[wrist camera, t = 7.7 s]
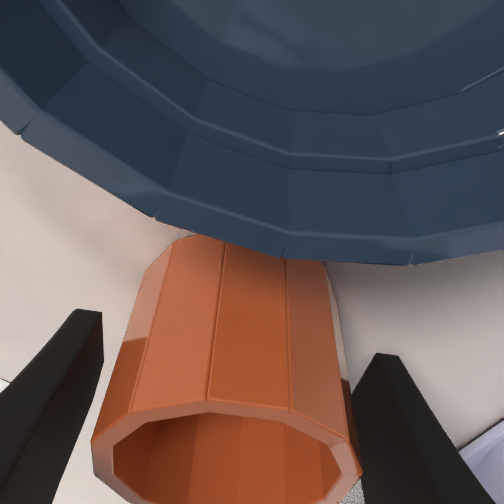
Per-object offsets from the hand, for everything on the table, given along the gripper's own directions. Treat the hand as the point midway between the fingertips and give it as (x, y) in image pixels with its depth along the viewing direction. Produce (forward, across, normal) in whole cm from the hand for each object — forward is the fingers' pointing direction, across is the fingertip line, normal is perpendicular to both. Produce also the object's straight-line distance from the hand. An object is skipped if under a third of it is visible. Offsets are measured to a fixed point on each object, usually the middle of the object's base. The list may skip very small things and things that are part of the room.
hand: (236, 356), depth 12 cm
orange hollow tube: (+2, 0, 0) cm, 2 cm away
